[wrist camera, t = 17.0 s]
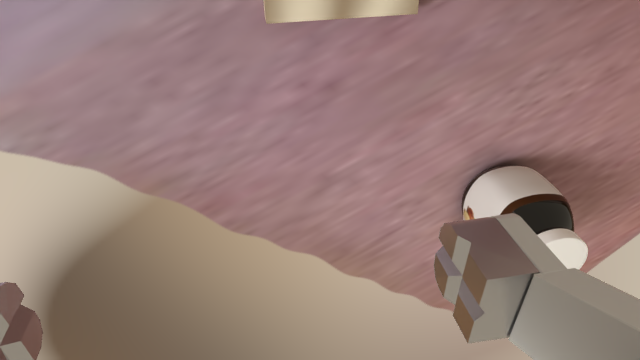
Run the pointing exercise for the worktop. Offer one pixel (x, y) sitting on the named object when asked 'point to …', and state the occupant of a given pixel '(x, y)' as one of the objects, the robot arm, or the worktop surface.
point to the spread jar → (527, 208)
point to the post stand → (334, 9)
